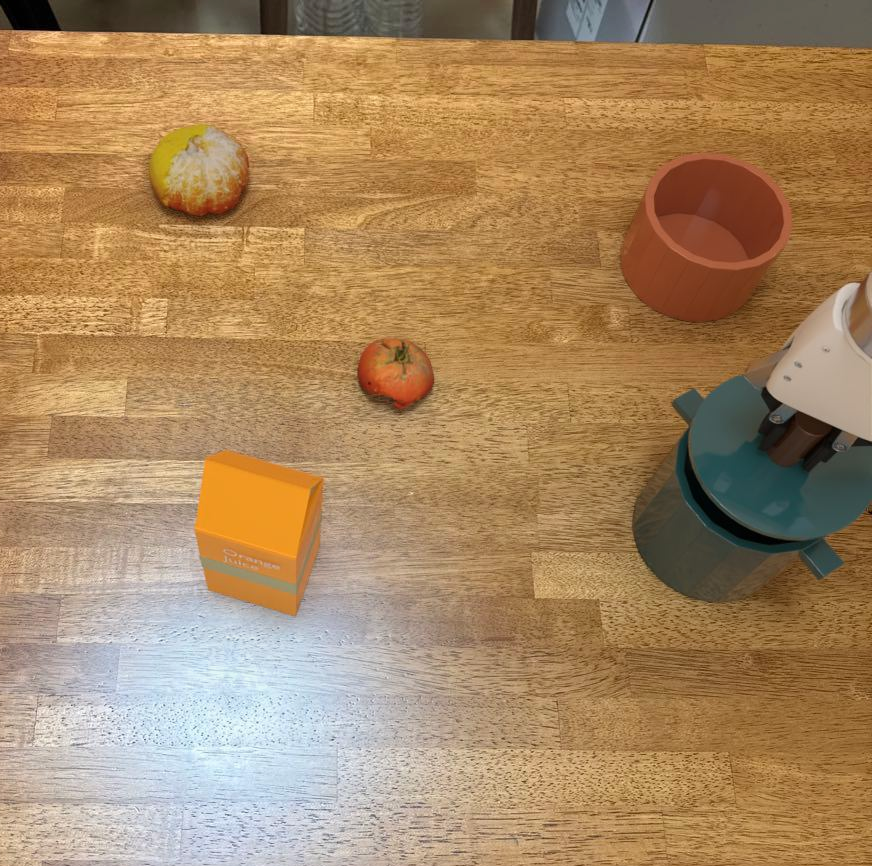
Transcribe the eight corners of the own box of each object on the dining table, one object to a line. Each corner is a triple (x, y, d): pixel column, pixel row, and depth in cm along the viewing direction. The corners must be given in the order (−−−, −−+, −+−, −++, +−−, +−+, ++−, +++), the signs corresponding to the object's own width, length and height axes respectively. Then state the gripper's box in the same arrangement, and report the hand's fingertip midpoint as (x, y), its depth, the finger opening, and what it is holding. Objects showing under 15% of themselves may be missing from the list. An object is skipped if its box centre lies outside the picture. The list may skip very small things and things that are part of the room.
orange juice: (296, 618, 95) (296, 533, 76) (206, 590, 96) (185, 500, 77) (320, 544, 98) (327, 445, 79) (233, 518, 99) (219, 415, 80)
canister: (696, 192, 116) (727, 132, 108) (783, 285, 112) (822, 230, 103) (592, 245, 113) (616, 188, 105) (678, 344, 108) (709, 292, 100)
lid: (786, 349, 90) (821, 304, 84) (910, 486, 85) (958, 449, 79) (648, 430, 87) (674, 389, 80) (769, 577, 82) (806, 545, 75)
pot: (698, 421, 105) (748, 354, 93) (830, 578, 98) (901, 526, 87) (585, 487, 101) (623, 425, 90) (715, 653, 95) (773, 609, 83)
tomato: (453, 396, 103) (411, 370, 98) (402, 435, 106) (358, 411, 101) (429, 339, 107) (387, 311, 102) (380, 378, 110) (337, 353, 105)
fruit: (182, 242, 111) (162, 177, 104) (145, 198, 117) (124, 134, 110) (272, 201, 113) (258, 135, 107) (231, 160, 119) (215, 95, 113)
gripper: (1046, 325, 67) (897, 454, 84) (807, 227, 70) (710, 371, 87) (1018, 413, 64) (871, 527, 81) (772, 307, 67) (679, 439, 84)
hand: (789, 446), depth 84 cm, fingers closed on lid, 3 cm apart
